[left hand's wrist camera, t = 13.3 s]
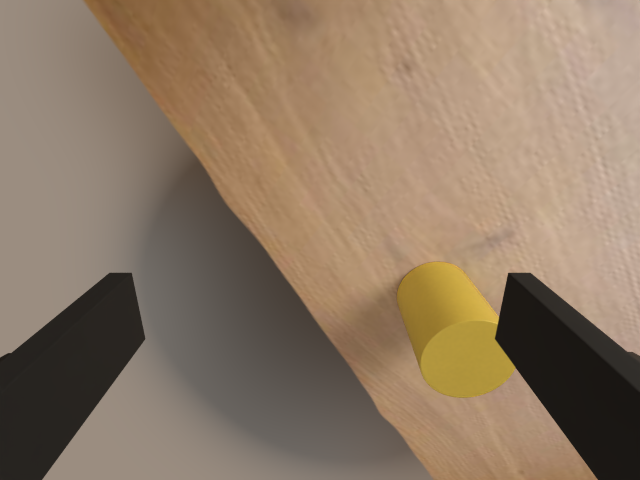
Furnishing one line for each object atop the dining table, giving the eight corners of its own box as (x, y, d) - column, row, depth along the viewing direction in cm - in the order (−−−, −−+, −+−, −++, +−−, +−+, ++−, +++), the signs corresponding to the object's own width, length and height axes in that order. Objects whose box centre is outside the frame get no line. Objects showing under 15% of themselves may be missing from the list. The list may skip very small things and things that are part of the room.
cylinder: (389, 319, 41) (409, 391, 31) (407, 256, 38) (435, 313, 28) (458, 329, 41) (499, 403, 32) (481, 267, 38) (534, 327, 28)
